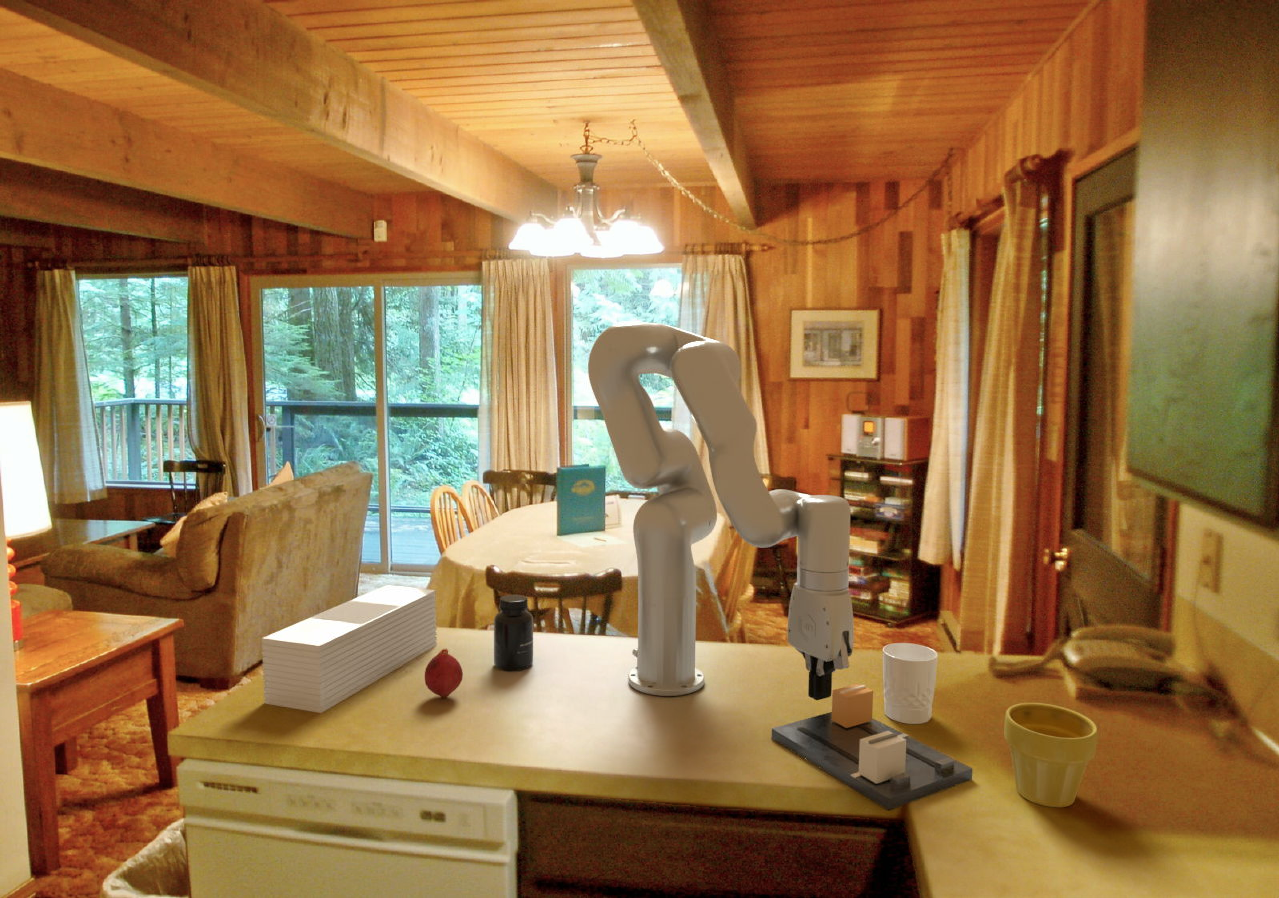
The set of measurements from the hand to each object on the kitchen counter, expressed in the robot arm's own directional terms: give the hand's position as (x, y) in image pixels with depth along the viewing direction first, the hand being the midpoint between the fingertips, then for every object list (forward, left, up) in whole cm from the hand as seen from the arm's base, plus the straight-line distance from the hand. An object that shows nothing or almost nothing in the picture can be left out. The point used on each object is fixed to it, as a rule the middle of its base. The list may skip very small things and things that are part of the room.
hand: (819, 696), depth 128 cm
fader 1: (+7, 0, -1) cm, 7 cm away
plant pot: (+32, +8, -3) cm, 33 cm away
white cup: (+7, +11, -3) cm, 14 cm away
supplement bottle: (-42, -33, -3) cm, 53 cm away
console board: (+14, -4, -3) cm, 15 cm away
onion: (-34, -48, -3) cm, 59 cm away
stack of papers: (-52, -57, -3) cm, 77 cm away
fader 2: (+20, -8, -1) cm, 22 cm away
